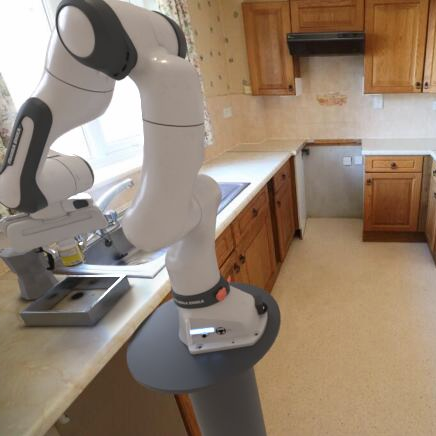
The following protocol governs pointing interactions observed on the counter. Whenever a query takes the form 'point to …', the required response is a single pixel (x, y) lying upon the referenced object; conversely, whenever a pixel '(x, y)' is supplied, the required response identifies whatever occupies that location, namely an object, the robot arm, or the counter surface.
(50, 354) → the counter surface
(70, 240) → the supplement bottle
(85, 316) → the shallow rectangular grey tray
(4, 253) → the coffeepot
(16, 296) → the counter surface
